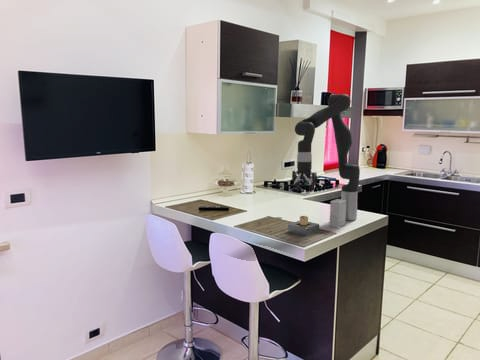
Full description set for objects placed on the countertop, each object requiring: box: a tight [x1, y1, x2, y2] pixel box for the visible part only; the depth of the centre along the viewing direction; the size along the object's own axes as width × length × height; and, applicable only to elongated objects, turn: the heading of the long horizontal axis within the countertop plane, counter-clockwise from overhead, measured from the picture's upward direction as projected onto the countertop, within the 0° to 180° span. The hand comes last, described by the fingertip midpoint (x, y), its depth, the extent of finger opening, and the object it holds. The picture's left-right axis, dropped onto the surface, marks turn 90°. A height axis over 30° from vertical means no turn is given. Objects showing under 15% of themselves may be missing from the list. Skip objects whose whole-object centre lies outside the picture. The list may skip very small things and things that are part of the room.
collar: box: [287, 220, 320, 237], centre depth 208 cm, size 12×12×4 cm
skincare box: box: [329, 198, 347, 229], centre depth 217 cm, size 8×6×15 cm
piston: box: [299, 215, 309, 226], centre depth 207 cm, size 4×4×8 cm
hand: (304, 190), depth 204 cm, fingers open, 8 cm apart
